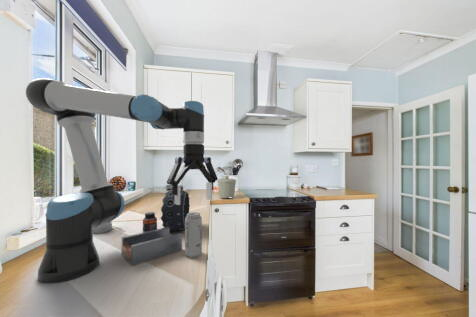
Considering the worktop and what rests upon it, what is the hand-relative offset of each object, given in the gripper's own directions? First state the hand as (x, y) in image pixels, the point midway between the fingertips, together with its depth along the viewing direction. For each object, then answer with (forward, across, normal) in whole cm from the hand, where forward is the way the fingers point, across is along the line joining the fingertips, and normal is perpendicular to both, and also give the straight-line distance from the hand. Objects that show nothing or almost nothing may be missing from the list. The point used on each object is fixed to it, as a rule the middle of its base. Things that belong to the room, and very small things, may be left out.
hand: (194, 201), depth 78 cm
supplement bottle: (+19, -5, +28) cm, 35 cm away
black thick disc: (+19, +9, +32) cm, 38 cm away
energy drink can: (+20, 0, 0) cm, 20 cm away
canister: (+20, +88, +83) cm, 123 cm away
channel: (+19, -10, +13) cm, 25 cm away
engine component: (+19, -18, +58) cm, 64 cm away
